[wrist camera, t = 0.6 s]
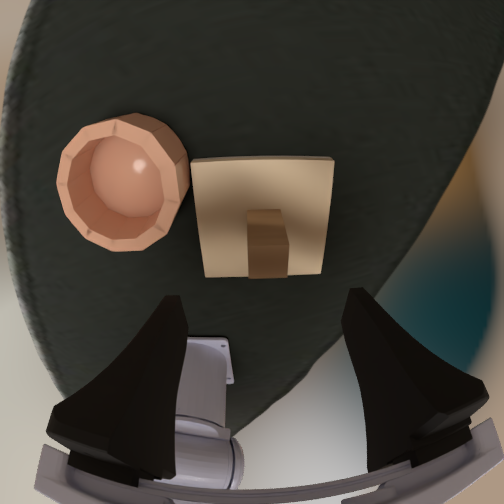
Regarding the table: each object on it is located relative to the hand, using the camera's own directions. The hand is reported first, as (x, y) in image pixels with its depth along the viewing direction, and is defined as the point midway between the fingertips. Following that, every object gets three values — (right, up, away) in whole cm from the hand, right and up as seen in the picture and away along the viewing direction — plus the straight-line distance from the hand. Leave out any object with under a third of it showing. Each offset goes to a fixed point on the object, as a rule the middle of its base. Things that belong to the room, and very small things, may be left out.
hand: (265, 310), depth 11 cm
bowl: (-9, +8, +6) cm, 13 cm away
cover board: (0, +5, +8) cm, 9 cm away
